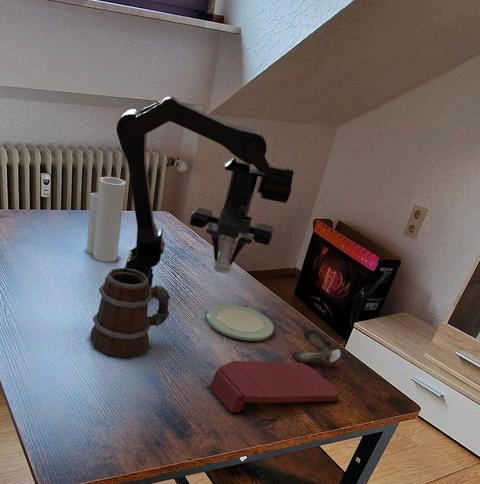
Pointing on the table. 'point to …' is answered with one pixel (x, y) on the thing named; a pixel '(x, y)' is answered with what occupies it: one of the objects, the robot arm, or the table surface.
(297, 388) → the dark red wedge slab
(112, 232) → the vase
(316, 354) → the eagle figurine
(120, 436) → the table surface
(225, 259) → the rook chess piece
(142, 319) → the mug
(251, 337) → the plate
